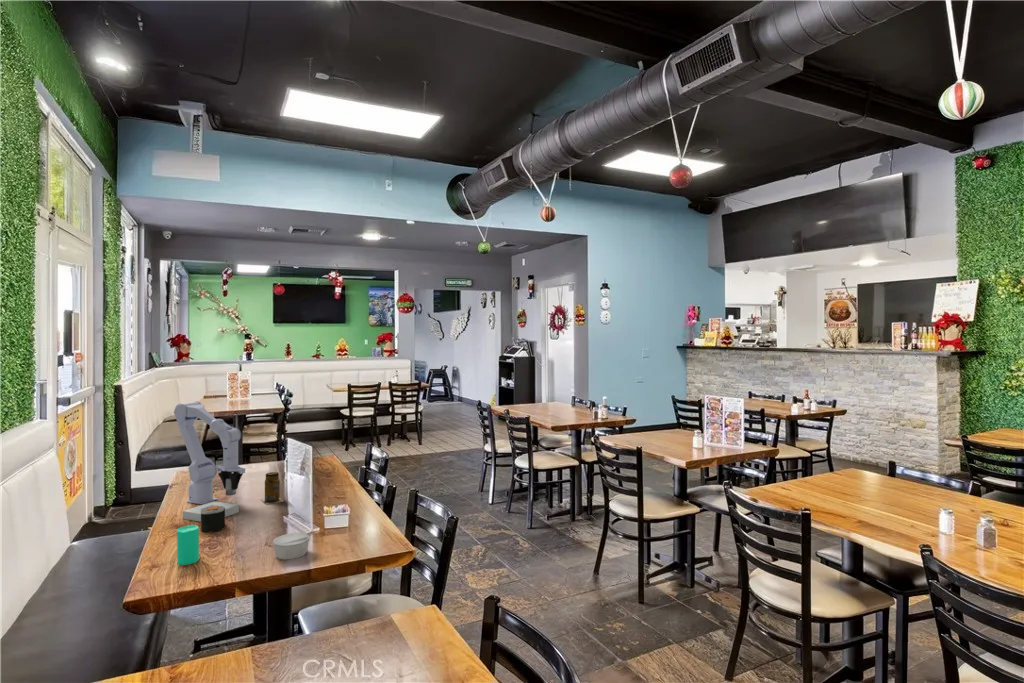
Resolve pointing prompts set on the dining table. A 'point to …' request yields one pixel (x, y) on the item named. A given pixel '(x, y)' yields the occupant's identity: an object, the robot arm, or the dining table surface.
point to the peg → (229, 487)
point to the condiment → (272, 488)
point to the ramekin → (291, 545)
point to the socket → (196, 511)
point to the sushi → (212, 519)
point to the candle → (187, 545)
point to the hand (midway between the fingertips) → (230, 488)
